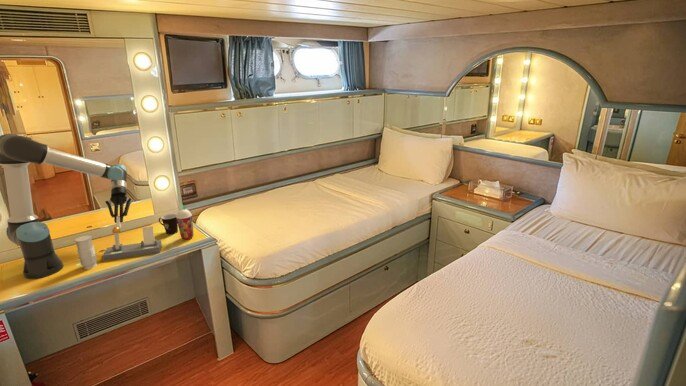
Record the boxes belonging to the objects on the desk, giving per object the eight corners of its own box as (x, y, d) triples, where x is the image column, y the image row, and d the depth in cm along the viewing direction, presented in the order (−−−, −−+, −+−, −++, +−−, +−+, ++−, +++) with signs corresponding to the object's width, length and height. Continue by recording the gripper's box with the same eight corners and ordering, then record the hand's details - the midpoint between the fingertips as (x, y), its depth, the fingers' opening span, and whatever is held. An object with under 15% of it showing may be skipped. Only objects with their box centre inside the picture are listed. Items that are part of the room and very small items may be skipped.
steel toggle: (112, 248, 194) (110, 227, 195) (114, 248, 197) (112, 227, 198) (120, 247, 195) (118, 226, 196) (122, 247, 198) (120, 226, 199)
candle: (80, 271, 181) (73, 242, 177) (83, 265, 187) (75, 237, 183) (97, 267, 184) (90, 239, 179) (99, 261, 190) (92, 234, 186)
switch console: (103, 261, 191) (101, 251, 189) (108, 252, 200) (106, 243, 198) (159, 252, 199) (158, 243, 197) (161, 245, 208) (160, 235, 206)
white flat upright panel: (144, 244, 199) (142, 227, 200) (144, 244, 200) (142, 227, 201) (154, 243, 201) (152, 226, 202) (154, 243, 202) (153, 226, 203)
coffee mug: (182, 231, 225) (179, 216, 222) (168, 236, 219) (165, 220, 216) (173, 227, 233) (170, 211, 230) (159, 231, 226) (156, 215, 223)
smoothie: (197, 235, 220) (193, 202, 214) (191, 241, 212) (185, 207, 206) (184, 234, 220) (179, 202, 215) (176, 240, 213) (171, 207, 207)
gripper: (133, 191, 217) (134, 228, 207) (108, 194, 213) (107, 232, 203) (130, 185, 211) (130, 223, 201) (103, 187, 207) (102, 226, 197)
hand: (118, 227), depth 202 cm, fingers closed
